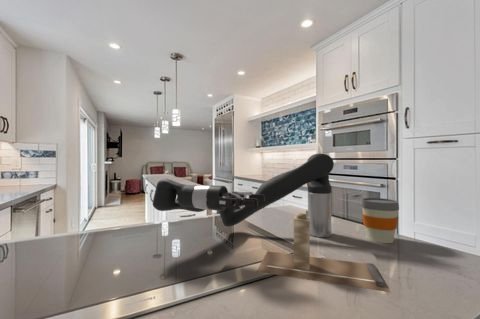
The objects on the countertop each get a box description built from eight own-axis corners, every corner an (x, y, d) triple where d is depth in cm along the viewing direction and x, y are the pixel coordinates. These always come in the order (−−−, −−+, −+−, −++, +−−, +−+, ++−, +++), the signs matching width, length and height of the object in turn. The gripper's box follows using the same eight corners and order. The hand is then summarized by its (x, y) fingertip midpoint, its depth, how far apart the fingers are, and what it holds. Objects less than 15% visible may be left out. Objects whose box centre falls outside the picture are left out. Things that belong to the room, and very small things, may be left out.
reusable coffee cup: (356, 239, 89) (356, 200, 89) (366, 232, 98) (366, 196, 98) (395, 247, 80) (395, 204, 80) (402, 239, 89) (401, 200, 89)
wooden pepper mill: (293, 267, 62) (293, 215, 62) (295, 261, 65) (294, 212, 65) (309, 270, 60) (309, 216, 60) (309, 263, 64) (309, 213, 64)
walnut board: (256, 277, 60) (256, 267, 60) (267, 256, 73) (267, 248, 73) (390, 298, 50) (389, 287, 50) (374, 270, 63) (374, 261, 63)
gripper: (219, 205, 78) (266, 208, 73) (199, 214, 65) (255, 219, 60) (219, 183, 78) (266, 185, 73) (199, 187, 65) (255, 190, 60)
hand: (261, 200), depth 66 cm, fingers open, 8 cm apart
